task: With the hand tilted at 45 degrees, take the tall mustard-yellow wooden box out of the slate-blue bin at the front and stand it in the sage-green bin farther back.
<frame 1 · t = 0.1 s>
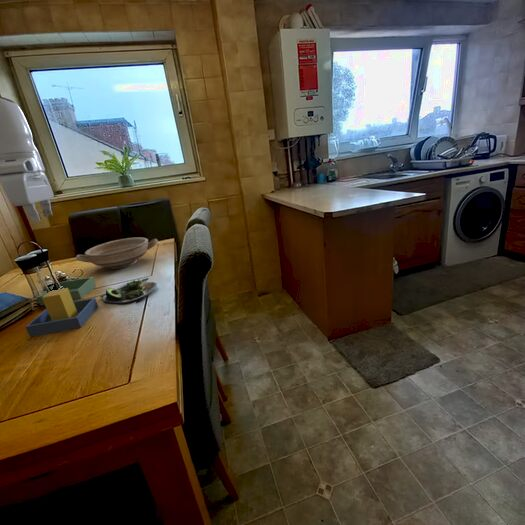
hand: (43, 218, 77), 33 cm above the table, tool pointing down, fingers open, 8 cm apart
blue bin: (67, 322, 88), on the table
green bin: (70, 296, 109), on the table
ceramic bowl: (123, 264, 141), on the table
salad plate: (130, 296, 103), on the table
yellow box: (66, 320, 88), point 1 cm above the table, touching blue bin
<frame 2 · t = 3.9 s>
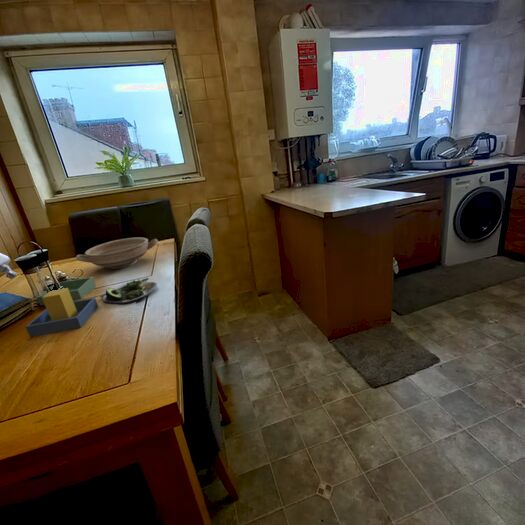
hand: (4, 282, 81), 16 cm above the table, tool tilted 45°, fingers open, 8 cm apart
nothing on the table moved.
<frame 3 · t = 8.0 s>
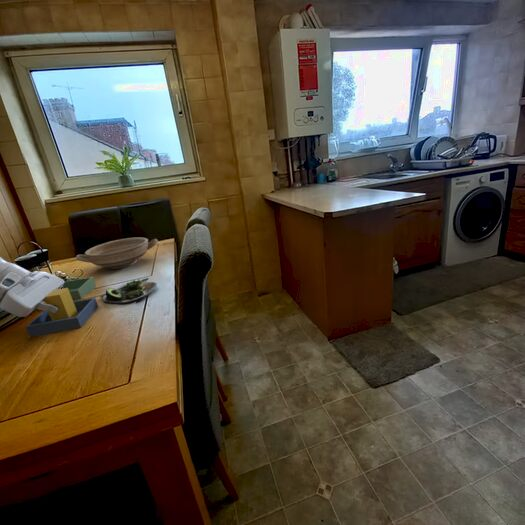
hand: (62, 305, 86), 6 cm above the table, tool tilted 45°, fingers closed on yellow box, 5 cm apart
yellow box: (66, 320, 88), point 1 cm above the table, touching blue bin, gripper
everything else where it was.
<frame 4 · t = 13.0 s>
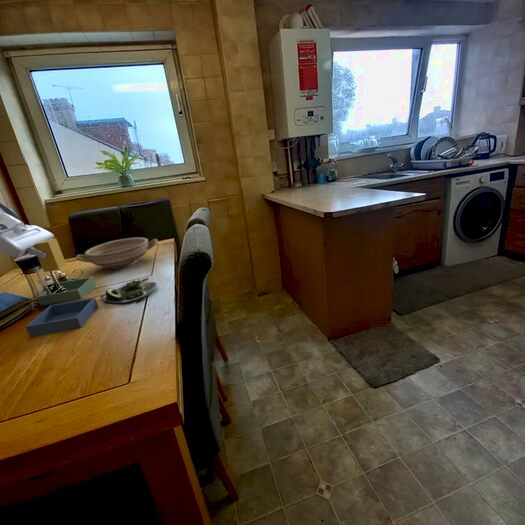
hand: (51, 253, 96), 19 cm above the table, tool tilted 45°, fingers closed on yellow box, 5 cm apart
yellow box: (55, 268, 98), point 14 cm above the table, touching gripper
everything else where it was.
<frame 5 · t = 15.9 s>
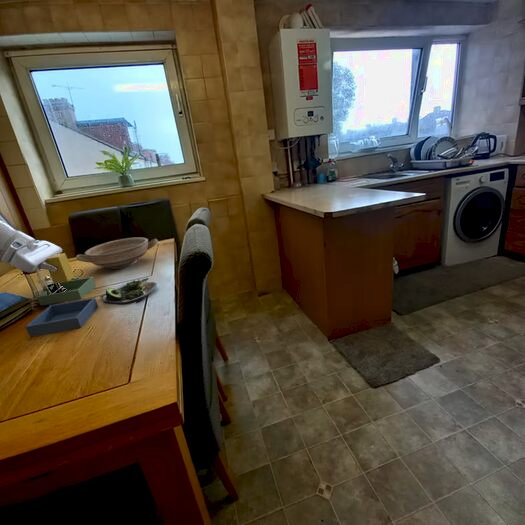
hand: (60, 267, 105), 12 cm above the table, tool tilted 45°, fingers closed on yellow box, 5 cm apart
yellow box: (64, 280, 107), point 7 cm above the table, touching gripper
everything else where it was.
when the fingers open (6 cm above the table, at t = 18.1 s): yellow box stays where it is, resting on green bin.
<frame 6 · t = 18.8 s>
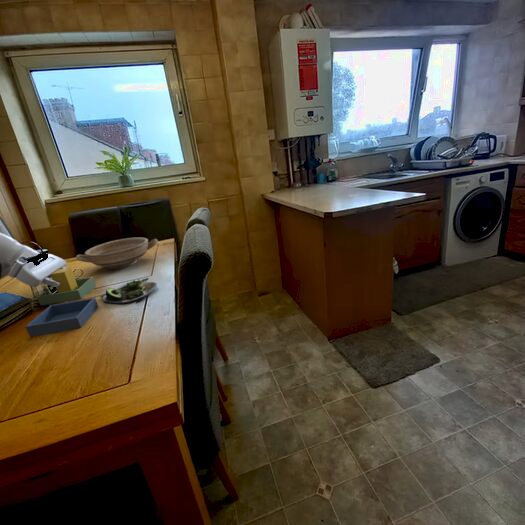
hand: (65, 280, 107), 7 cm above the table, tool tilted 45°, fingers open, 8 cm apart
yellow box: (70, 294, 109), point 1 cm above the table, touching green bin
everything else where it was.
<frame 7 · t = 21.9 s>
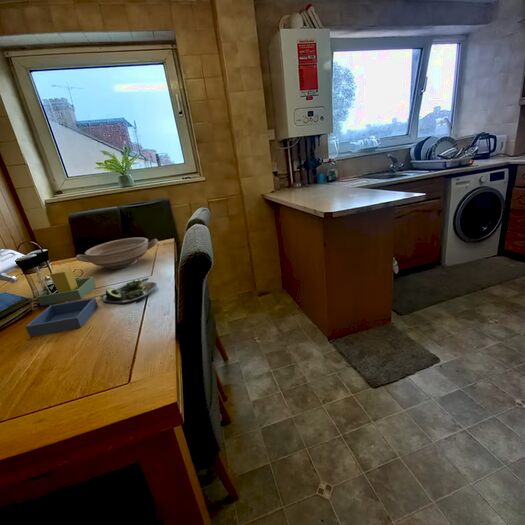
hand: (24, 276, 104), 11 cm above the table, tool tilted 45°, fingers open, 8 cm apart
nothing on the table moved.
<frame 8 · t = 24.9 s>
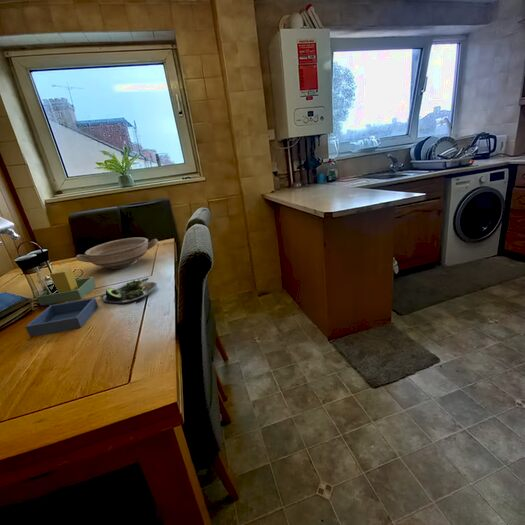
hand: (9, 241, 99), 24 cm above the table, tool tilted 45°, fingers open, 8 cm apart
nothing on the table moved.
at the end: yellow box inside the target area in the green bin (0.1 cm from its centre), point 0.8 cm above the green bin's base; yellow box tilted 0°; the gripper is holding nothing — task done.
